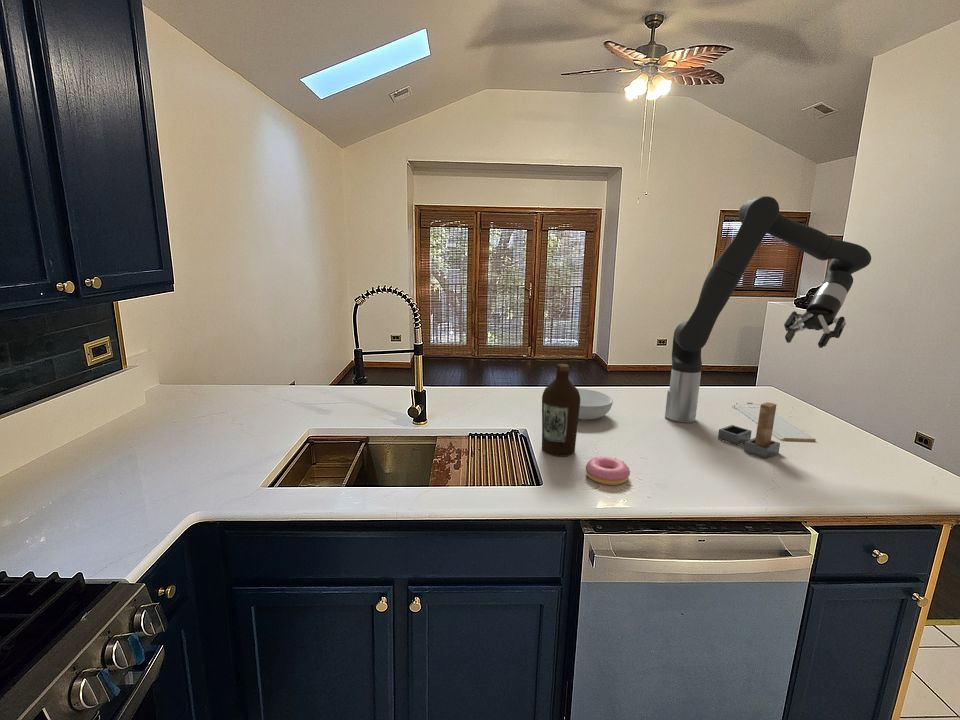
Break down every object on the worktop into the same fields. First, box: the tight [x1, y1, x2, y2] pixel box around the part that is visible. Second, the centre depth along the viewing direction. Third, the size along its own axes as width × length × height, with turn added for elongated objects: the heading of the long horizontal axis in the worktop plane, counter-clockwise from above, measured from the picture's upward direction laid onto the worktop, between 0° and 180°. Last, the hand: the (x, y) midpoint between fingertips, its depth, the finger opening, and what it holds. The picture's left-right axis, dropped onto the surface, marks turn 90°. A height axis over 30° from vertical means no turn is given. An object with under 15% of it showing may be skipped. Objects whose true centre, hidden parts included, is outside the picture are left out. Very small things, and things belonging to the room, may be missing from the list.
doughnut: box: [585, 456, 631, 486], centre depth 126 cm, size 11×11×4 cm
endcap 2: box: [743, 437, 781, 460], centre depth 143 cm, size 6×8×3 cm
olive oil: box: [541, 363, 580, 457], centre depth 140 cm, size 11×11×25 cm
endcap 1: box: [717, 424, 752, 446], centre depth 152 cm, size 6×8×3 cm
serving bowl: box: [576, 387, 614, 421], centre depth 172 cm, size 21×21×7 cm
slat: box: [755, 401, 778, 447], centre depth 142 cm, size 2×4×14 cm, turn 127°
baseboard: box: [732, 402, 817, 442], centre depth 167 cm, size 31×3×12 cm
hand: (803, 343), depth 144 cm, fingers open, 8 cm apart
